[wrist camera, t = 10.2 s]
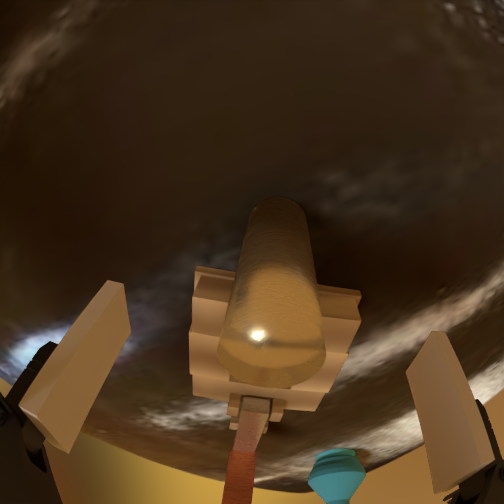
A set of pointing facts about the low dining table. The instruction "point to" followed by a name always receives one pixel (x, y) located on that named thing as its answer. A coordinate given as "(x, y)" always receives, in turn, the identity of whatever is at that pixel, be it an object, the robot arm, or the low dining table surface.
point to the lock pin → (245, 451)
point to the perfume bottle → (336, 475)
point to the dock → (233, 390)
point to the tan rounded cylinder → (274, 302)
